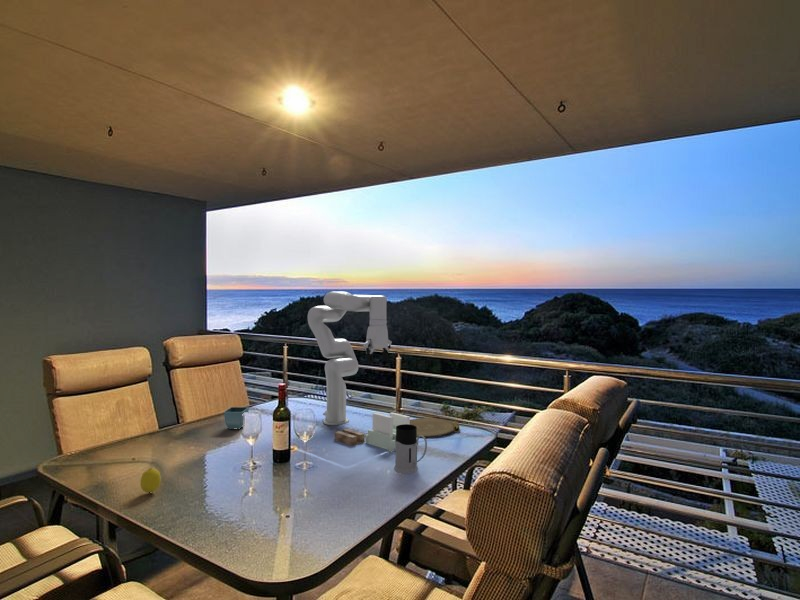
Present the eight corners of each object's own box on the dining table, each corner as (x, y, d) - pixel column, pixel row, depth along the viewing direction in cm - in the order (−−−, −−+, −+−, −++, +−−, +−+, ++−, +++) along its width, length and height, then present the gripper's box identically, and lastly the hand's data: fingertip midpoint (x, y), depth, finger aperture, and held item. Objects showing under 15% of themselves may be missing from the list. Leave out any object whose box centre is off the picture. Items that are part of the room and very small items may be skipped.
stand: (333, 441, 185) (333, 432, 185) (346, 437, 191) (346, 428, 191) (352, 447, 178) (352, 438, 178) (365, 443, 183) (365, 433, 183)
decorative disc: (396, 416, 219) (455, 414, 219) (397, 422, 219) (456, 420, 219) (394, 434, 191) (462, 431, 190) (395, 441, 191) (463, 439, 190)
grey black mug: (406, 462, 163) (406, 422, 162) (434, 473, 152) (434, 430, 152) (389, 468, 156) (389, 427, 156) (417, 480, 146) (417, 436, 146)
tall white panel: (372, 441, 182) (372, 413, 182) (375, 440, 183) (375, 412, 183) (390, 447, 176) (390, 417, 176) (392, 446, 177) (392, 416, 177)
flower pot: (242, 431, 198) (242, 411, 198) (223, 431, 199) (223, 411, 198) (249, 425, 207) (249, 407, 207) (230, 425, 207) (230, 406, 207)
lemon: (146, 499, 132) (146, 472, 132) (136, 494, 135) (137, 469, 134) (164, 492, 136) (164, 466, 136) (154, 488, 139) (154, 463, 139)
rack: (365, 444, 182) (365, 418, 182) (392, 434, 195) (392, 410, 194) (389, 452, 173) (390, 424, 173) (416, 441, 186) (416, 416, 185)
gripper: (384, 322, 202) (384, 358, 202) (358, 323, 189) (357, 362, 189) (397, 322, 197) (396, 360, 197) (370, 324, 184) (370, 364, 184)
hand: (377, 361), depth 193 cm, fingers open, 9 cm apart
